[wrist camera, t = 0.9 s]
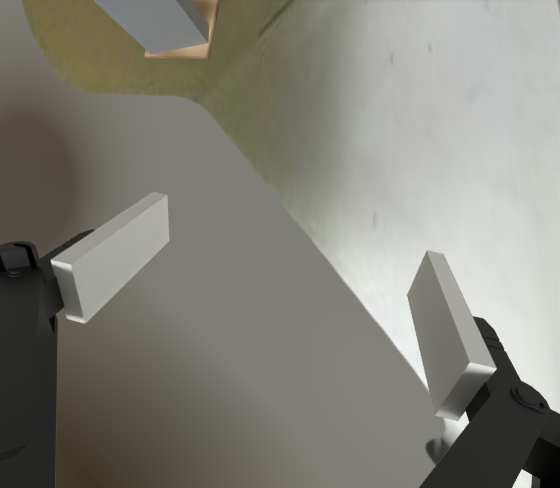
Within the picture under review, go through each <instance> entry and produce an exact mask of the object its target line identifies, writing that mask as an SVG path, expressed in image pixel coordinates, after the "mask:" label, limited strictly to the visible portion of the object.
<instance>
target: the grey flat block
mask: <svg viewBox="0 0 560 488" xmlns="http://www.w3.org/2000/svg"><path fill="white" fill-rule="evenodd" d="M94 1H95V2H96V3H97V4H98V5H99V6H100V7H101V8H102V9H103V10H104V11H105V12H106V13H107V14H109V15H110V16H111V17H112V18H113V19H114V20H115V21H116V22H117V23H118V24H119V25H120V26H121V27H122V28H123V29H124V30H126V31H127V32H128V33H129V34H130V35H131V36H132V37H133V38H134V39H135V40H136V41H137V42H138V43H139V44H140V45H141V46H143V47H144V48H145V49H146V50H147V51H148V52H149V53H150V54H155V53H160V52H166V51H171V50H176V49H181V48H186V47H192V46H197V45H202V44H207V43H208V41H209V24H208V23H207V21H206V20H205V19H204V17H203V16H202V14H201V13H200V11H199V10H198V8H197V7H196V5H195V4H194V3H193V1H192V0H94Z"/></svg>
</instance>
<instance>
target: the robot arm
mask: <svg viewBox="0 0 560 488" xmlns="http://www.w3.org/2000/svg"><path fill="white" fill-rule="evenodd" d="M167 242H169V223H168V200H167V195H165V194H161V193H156V192H153V193H151V194H149V195H148V196H146V197H145V198H143V199H142V200H141V201H139V202H137V203H136V204H134V205H133V206H131V207H130V208H128V209H127V210H125V211H124V212H122V213H121V214H119V215H118V216H116V217H115V218H113V219H112V220H110V221H109V222H107V223H106V224H104V225H103V226H101V227H99V228H98V229H96V230H93V229H92V230H89V231H86V232H83V233H80V234H78V235H77V236H75V237H73V238H72V239H70V241H67V242H66V243H64V244H63V245H62V246H59V247H58V248H56V249H55V250H53V251H51V252H50V253H48V254H47V255H45V256H44V257H42V258H40V259H39V257H38V253H37V250H36V247H35V245H34V244H32V243H30V242H24V241H20V242H10V243H5V244H3V245H0V488H55V474H56V473H55V472H56V406H57V402H56V401H57V342H58V341H57V340H58V339H57V338H58V319H57V316H56V313H58V312H59V311H60V310H61V309H62V308H63V307H64V310H65V313H66V317H67V319H70V320H74V321H77V322H81V323H86V322H87V321H88V320H89V319H90V318H91V317H92V316H93V315H94V314H95V313H96V312H97V311H98V310H99V309H100V308H101V307H102V306H103V305H104V304H105V303H106V302H107V301H109V299H111V298H112V297H113V296H114V295H115V294H116V293H117V292H118V291H119V290H120V289H121V288H122V287H123V286H124V285H125V284H126V283H127V282H128V281H129V280H130V279H131V278H132V277H133V276H134V275H135V274H136V273H137V272H138V271H139V270H140V269H141V268H142V267H143V266H144V265H145V264H146V263H147V262H148V261H149V260H150V259H151V258H152V257H153V256H154V255H155V254H156V253H157V252H158V251H159V250H160V249H161V248H162V247H163V246H164V245H165V244H166V243H167ZM407 297H408V301H409V305H410V310H411V314H412V318H413V323H414V327H415V331H416V336H417V340H418V344H419V349H420V353H421V357H422V362H423V366H424V370H425V375H426V379H427V383H428V388H429V392H430V396H431V401H432V405H433V409H434V413H435V415H436V416H440V417H444V418H448V419H451V420H455V421H458V420H459V419H460V417H461V416H462V415H463V413H464V412H465V411H466V413H467V417H468V420H469V424H468V425H467V426H466V428H465V429H464V430H463V431H462V433H461V434H460V435H459V437H458V438H457V439H456V440H455V442H454V443H453V444H452V446H451V447H450V448H449V450H448V451H447V452H446V453H445V455H444V456H443V457H442V459H441V460H440V461H439V463H438V464H437V465H436V466H435V468H434V469H433V470H432V472H431V473H430V474H429V475H428V477H427V478H426V479H425V481H424V482H423V483H422V485H421V486H420V487H419V488H512V487H513V485H514V483H515V481H516V479H517V477H518V475H519V473H520V471H521V469H523V470H524V471H526V472H528V473H530V474H532V486H531V488H560V414H559V413H557V412H555V411H553V410H551V409H550V407H549V405H548V403H547V401H546V400H545V399H544V397H543V396H542V395H541V394H540V393H539V392H538V391H536V390H535V389H534V388H533V387H532V386H530V385H528V384H526V383H524V382H523V381H521V380H520V378H519V376H518V374H517V372H516V370H515V368H514V367H513V365H512V363H511V361H510V359H509V357H508V355H507V353H506V351H504V347H503V346H502V344H501V342H499V338H498V336H497V334H496V332H495V330H494V329H493V328H492V327H491V326H490V325H489V324H488V323H487V322H486V321H485V320H484V319H483V318H478V317H474V316H472V314H471V312H470V310H469V308H468V306H467V304H466V302H465V299H464V297H463V295H462V293H461V291H460V289H459V286H458V284H457V282H456V280H455V278H454V276H453V274H452V271H451V269H450V267H449V265H448V263H447V261H446V259H445V256H444V254H441V253H437V252H432V251H426V253H425V256H424V258H423V260H422V262H421V265H420V267H419V269H418V272H417V274H416V276H415V278H414V281H413V283H412V285H411V287H410V290H409V292H408V294H407Z"/></svg>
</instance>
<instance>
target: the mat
mask: <svg viewBox="0 0 560 488" xmlns="http://www.w3.org/2000/svg"><path fill="white" fill-rule="evenodd" d="M192 1H193V3H194V4H195V5H196V7H197V8H198V10H199V11H200V13H201V14H202V16H203V17H204V19H205V20H206V21H207V23H208V24H209V41H208V43H207V44H202V45H197V46H192V47H186V48H181V49H176V50H171V51H166V52H160V53H155V54H150V53H149V52H148V51H147V50H146V51H145V57H146V58H177V59H208V58H209V53H210V48H211V43H212V38H213V33H214V28H215V22H216V17H217V12H218V7H219V2H220V0H192Z"/></svg>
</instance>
